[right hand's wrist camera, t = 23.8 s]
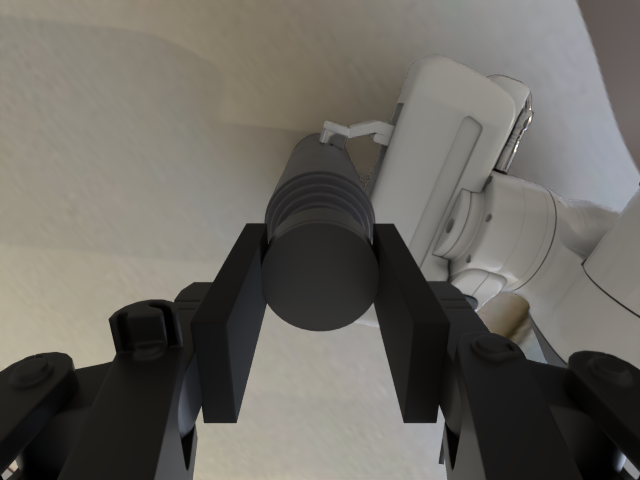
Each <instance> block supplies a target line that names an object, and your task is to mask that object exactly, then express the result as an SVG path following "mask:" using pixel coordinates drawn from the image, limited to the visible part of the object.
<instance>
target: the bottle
mask: <svg viewBox="0 0 640 480" xmlns="http://www.w3.org/2000/svg"><path fill="white" fill-rule="evenodd" d="M320 136H321V133H318V134H312V135H309V136H307V137H305V138H304V139H302V140H301V141H300V142H299V143H298V144H297V146H296V147H295V149H294V151H293V153H292V155H291V157H290V159H289V161H288V164H287V166H286V168H285V170H284V172H283V174H282V176H281V178H280V180H279V182H278V185H277V187H276V189H275V191H274V193H273V195H272V197H271V199H270V201H269V204H268V206H267V210H266V213H265V223H267V230H268V243H269V241H270V238H271V236H272V235H273V233H274V231H275V230H276V229H277V227H278V226H279V225H280V224H281V223H282V222H283V221H284V220H286V219H287V218H288V217H290V216H292V215H294V214H296V213H298V212H300V211H303V210H307V209H313V208H327V209H333V210H337V211H340V212H342V213H345V214H347V215H348V216H350V217H352V218H353V219H355V220H356V221H357V222H358V223H359V224H360V225H361V226H362V227H363V228H364V230H365V231H366V232H367V234H368V236H369V238H370V240H371V243H372V239H373V223H376V220H375V213H374V209H373V206H372V203H371V201H370V199H369V197H368V195H367V193H366V190H365V188H364V186H363V184H362V182H361V180H360V178H359V176H358V174H357V172H356V169H355V167H354V165H353V163H352V161H351V159H350V157H349V155H348V153H347V151H346V149H345V147H344V148H343V149H340V148H337V147H335V146H333V144H324V143H322V142H320V141H319V139H320Z"/></svg>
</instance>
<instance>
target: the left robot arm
mask: <svg viewBox="0 0 640 480" xmlns="http://www.w3.org/2000/svg"><path fill="white" fill-rule="evenodd" d="M524 103H525V108H524V109H523V108H522V107H523V105H524ZM531 106H532V96H531V92H530V90H529V88H528V87H527V86H526V85H525V84H524V83H522V82H521V81H518V80H515V79H513V78H510V77H507V76H504V75H491V76H488V77H485V76H484V75H482V74H480V73H478V72H476V71H475V70H473V69H471V68H469V67H467V66H465V65H463V64H461V63H459V62H456V61H454V60H452V59H449V58H447V57H444V56H441V55H430V56H427V57H424V58H422V59H420V60H418V61H417V62H415V63H413V64H412V65H411V66H410V68H409V70H408V73H407V76H406V79H405V81H404V84H403V87H402V90H401V93H400V95H399V98H398V101H397V104H396V106H395V109H394V112H393V115H392V118H391V120H390V123H389V124H388V123H385V122H381V121H378V120H375V119H374V120H370V121H366V122H362V123H357V124H353V125H349V127H346V126H343V125H340V124H337V123H334V122H331V121H327V120H325V122H324V125H323V128H322V132H321V136H320V139H319V141H320V142H322V143H324V144H333V146H335V147H337V148H340V149H343V148H344V145H345V143H346V140H347V138H353V137H357V136H362V135H366V134H370V139H372V140H373V141H374V142H377V143H380V144H382V145H381V148H380V151H379V154H378V156H377V159H376V162H375V165H374V168H373V170H372V173H371V176H370V179H369V182H368V184H367V187H366V193H367V195H368V197H369V199H370V201H371V203H372V206H373V209H374V213H375V220H376V223H394V225H395V226H396V228H397V230H398V232H399V233H400V235H401V237H402V239H403V240H404V242H405V244H406V246H407V247H408V249H409V251H410V253H411V254H412V256H413V258H414V260H415V261H416V263H417V265H418V267H419V268H420V270H421V272H422V274H423V275H424V277H425V279H426V281H447V282H449V283H450V284H452V285H454V286H455V287H457V288H458V289H460V291H461V292H462V294H463V295H464V296H465V298H466V301H468V302H469V303H470V305H471V306H472V309H474V310H475V312H476V311H477V310H479V309H480V308H481V307H482V306H483V305H484V304H485V303H486V302H488V301H489V300H490V299H491V298H493V297H494V296H495V295H496V294H498V293H499V292H500V293H511V294H516V295H519V296H521V297H523V298H524V299H525V300H526V301H527V302H528V303H529V305H530V308H529V309H528V314H529V318H530V321H531V324H532V327H533V330H534V332H535V334H536V337H537V339H538V342H539V344H540V347H541V349H542V352H543V354H544V357H545V359H546V361H547V363H548V364H549V365H554V366H559V367H564V368H566V366H567V362H568V359H569V356H571V355H572V354H573V353H574V352H578V351H584V350H587V351H599V352H604V353H606V354H607V353H608V354H611V355H614V356H616V357H618V358H620V359H622V360H625V361H627V362H629V363H631V364H632V365H634V366H635V367H637V368H638V369H640V187H639V189H638V190H637V191H636V193H635V194H634V195H633V197H632V198H631V199H630V201H629V202H628V204H627V205H626V206H625V208H624V209H623V210H622V212H619V211H616V210H613V209H611V208H608V207H605V206H602V205H599V204H596V203H593V202H590V201H585V200H567V199H563V198H561V197H559V196H558V195H557V194H555V193H554V192H553V191H551V190H550V189H548V188H546V187H544V186H541V185H538V184H535V183H532V182H529V181H526V180H523V179H520V178H517V177H514V176H510V175H507V171H508V169H509V167H510V165H511V163H512V161H513V159H514V157H515V154H516V152H517V150H518V149H517V148H518V147H519V144H520V141H521V139H522V137H523V135H524V133H525V131H527V129H528V128H529V126H530V124H531V121H532V118H533V115H534V112H533V111H531ZM492 168H493V169H492ZM639 186H640V183H639ZM354 323H358V324H362V325H367V326H372V327H377V328H380V327H379V323H378V319H377V315H376V311H375V307H374V303H373V304H372V305H371V307H370V308H369V309H368V310H367V312H366V313H365V314H364V315H363V316H361V317H360V318H359V319H358V320H356V321H355V322H354ZM623 467H624V468H625V469H626V470H627V471H628V473H629V474H630V475H632V476H633V477H634V478H635V479H638V477H639V475H640V472H639V471H638V470H637V469H636V468H635V467H634V465H633V464H632V463H631V462H630V461H629V460H628V459H627V458H626V459H625V462H624V464H623Z"/></svg>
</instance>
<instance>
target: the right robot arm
mask: <svg viewBox="0 0 640 480" xmlns="http://www.w3.org/2000/svg"><path fill="white" fill-rule="evenodd" d="M372 246H373V248H374V251H375V254H376V257H377V260H378V263H379V283H378V293H377V296H376V298H375V300H374V302H373V303H374V307H375V311H376V315H377V319H378V323H379V327H380V331H381V335H382V339H383V343H384V347H385V351H386V355H387V359H388V362H389V366H390V370H391V374H392V378H393V382H394V386H395V390H396V394H397V398H398V402H399V406H400V410H401V414H402V418H403V422H404V423H436V422H437V415H438V408H439V405H440V408H441V410H442V413H443V415H444V418H445V425H444V431H443V438H442V444H441V451H440V458H439V464H444V461H445V463H446V472H447V480H640V475H639V477H638V479H635V478H634V477H633V476H632V475H630V474H629V473H628V471H627V470H626V469H625V468H624V467H623V464H624V462H625V459H626V458H627V459H628V460H629V461H630V462H631V463H632V464H633V465H634V467H635V468H636V469H637V470H638V471H639V472H640V369H638V368H637V367H635V366H634V365H632V364H631V363H629V362H627V361H625V360H622V359H620V358H618V357H616V356H614V355H611V354H608V353H607V354H606V353H604V352H599V351H587V350H584V351H578V352H574V353H573V354H572V355H571V356H569V359H568V362H567V366H566V368H564V367H559V366H554V365H549V364H544V363H539V362H535V361H531V360H527V359H526V357H525V355H524V353H523V352H522V350H521V349H520V348H519V347H518V345H516V344H515V343H513V342H512V341H510V340H509V339H507V338H505V337H502V336H500V335H498V334H494V333H490V331H489V330H488V329H487V327H486V326H485V324H484V323H483V322H482V320H481V319H480V317H479V316H478V315H477V313H476V312H475V310H474V309H472V306H471V305H470V303H469V302H468V301H466V298H465V296H464V295H463V294H462V292H461V291H460V289H458V288H457V287H455V286H454V285H452V284H450V283H449V282H447V281H426V279H425V277H424V275H423V274H422V272H421V270H420V268H419V267H418V265H417V263H416V261H415V260H414V258H413V256H412V254H411V253H410V251H409V249H408V247H407V246H406V244H405V242H404V240H403V239H402V237H401V235H400V233H399V232H398V230H397V228H396V226H395V225H394V223H373V239H372ZM267 247H268V230H267V223H247V224H246V225H245V227H244V229H243V231H242V232H241V234H240V236H239V238H238V239H237V241H236V243H235V245H234V246H233V248H232V250H231V252H230V253H229V255H228V257H227V259H226V260H225V262H224V264H223V266H222V267H221V269H220V271H219V273H218V274H217V276H216V278H215V280H214V281H213V282H194V283H192V284H191V285H189V286H188V287H186V288H184V289H183V290H181V292H180V293H179V294H178V296H177V297H176V299H175V300H174V302H171V301H167V300H145V301H140V302H136V303H133V304H130V305H127V306H125V307H123V308H122V309H120V310H118V311H116V312H115V313H114V314H113V315H112V316H111V317H110V318H109V323H110V327H111V332H112V336H113V340H114V345H115V349H116V356H115V358H114V360H113V361H112V362H108V363H104V364H100V365H95V366H90V367H85V368H80V369H75V367H74V364H73V360H72V358H71V357H70V356H68V355H67V354H65V353H59V352H50V353H41V354H36V355H32V356H29V357H26V358H24V359H23V360H20V361H18V362H16V363H14V364H12V365H10V366H9V367H7V368H6V369H4V370H3V371H1V372H0V480H3V478H2V476H1V475H2V474H3V472H4V471H5V470H6V469H7V468H8V467H9V466H10V465H11V463H12V462H13V461H14V460H16V463H17V465H18V468H17V470H16V471H15V472H14V473H13V474H12V475H11V476H10V477H9V478H8V479H7V480H193V472H194V464H195V456H196V447H197V431H196V425H195V421H196V419H197V416H198V413H199V411H200V408H201V406H202V412H203V419H204V423H237V419H238V415H239V411H240V408H241V404H242V400H243V396H244V392H245V388H246V384H247V380H248V376H249V372H250V368H251V364H252V360H253V356H254V352H255V348H256V344H257V341H258V337H259V333H260V329H261V325H262V321H263V317H264V313H265V309H266V305H267V302H266V300H265V298H264V295H263V292H262V276H261V264H262V261H263V258H264V255H265V252H266V249H267Z"/></svg>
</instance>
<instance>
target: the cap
mask: <svg viewBox="0 0 640 480" xmlns="http://www.w3.org/2000/svg"><path fill="white" fill-rule="evenodd" d="M261 276H262V292H263V295H264V298H265V300H266V302H267V303H268V305H269V306H270V308H271V309H272V310H273V311H274V312H275V313H276V314H277V315H278V316H279V317H280V318H281V319H283V320H284V321H286V322H287V323H289V324H291V325H293V326H295V327H298V328H301V329H305V330H310V331H330V330H335V329H339V328H342V327H345V326H347V325H349V324H351V323H353V322H355V321H356V320H358V319H359V318H360V317H361V316H363V315H364V314H365V313H366V312H367V310H368V309H369V308H370V307H371V305H372V304H373V302H374V300H375V298H376V296H377V293H378V283H379V263H378V260H377V257H376V254H375V251H374V248H373V246H372V243H371V240H370V238H369V236H368V234H367V232H366V231H365V230H364V228H363V227H362V226H361V225H360V224H359V223H358V222H357V221H356V220H355V219H353V218H352V217H350V216H348V215H347V214H345V213H342V212H340V211H337V210H333V209H327V208H313V209H307V210H303V211H300V212H298V213H296V214H294V215H292V216H290V217H288V218H287V219H286V220H284V221H283V222H282V223H281V224H280V225H279V226H278V227H277V229H276V230H275V231H274V233H273V235H272V236H271V238H270V241H269V244H268V247H267V249H266V252H265V255H264V258H263V261H262V264H261Z"/></svg>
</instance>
